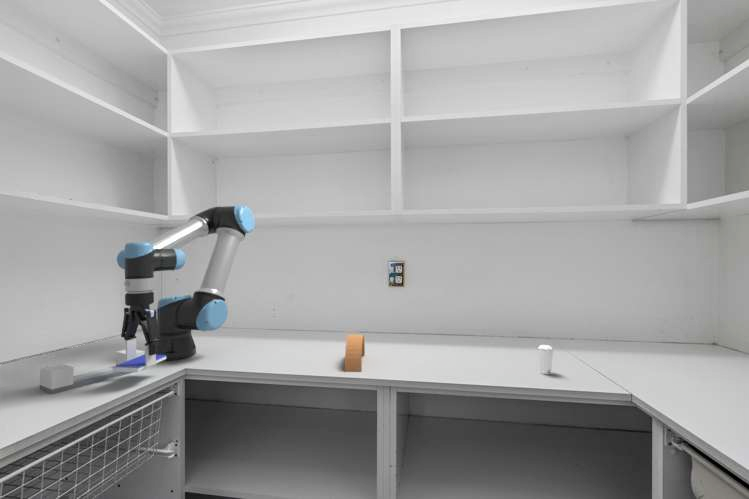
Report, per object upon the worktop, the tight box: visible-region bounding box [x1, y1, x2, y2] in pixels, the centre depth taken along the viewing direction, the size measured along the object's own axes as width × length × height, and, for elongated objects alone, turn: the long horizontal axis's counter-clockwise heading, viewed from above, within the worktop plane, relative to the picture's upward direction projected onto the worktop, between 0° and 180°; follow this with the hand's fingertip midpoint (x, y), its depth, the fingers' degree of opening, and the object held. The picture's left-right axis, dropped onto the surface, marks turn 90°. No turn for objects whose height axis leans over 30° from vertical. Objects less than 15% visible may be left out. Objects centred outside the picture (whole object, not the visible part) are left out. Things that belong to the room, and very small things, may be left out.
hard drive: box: [111, 355, 166, 373], centre depth 112 cm, size 2×8×12 cm
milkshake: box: [537, 344, 555, 376], centre depth 118 cm, size 5×5×10 cm
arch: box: [344, 334, 366, 373], centre depth 130 cm, size 6×20×10 cm, turn 178°
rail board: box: [39, 348, 145, 395], centre depth 114 cm, size 25×8×6 cm, turn 151°
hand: (140, 362), depth 112 cm, fingers closed on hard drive, 10 cm apart
